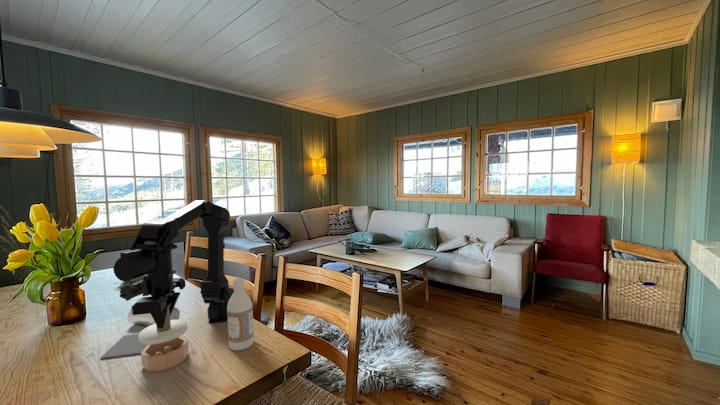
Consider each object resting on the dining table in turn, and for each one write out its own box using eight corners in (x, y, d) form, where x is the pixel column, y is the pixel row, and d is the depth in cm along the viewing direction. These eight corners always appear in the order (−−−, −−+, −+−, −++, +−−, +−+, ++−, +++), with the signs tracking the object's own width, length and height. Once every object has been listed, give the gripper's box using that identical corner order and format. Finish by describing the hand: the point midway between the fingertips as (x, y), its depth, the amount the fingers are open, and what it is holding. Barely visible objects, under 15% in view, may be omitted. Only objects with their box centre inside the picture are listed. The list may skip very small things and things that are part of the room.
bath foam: (223, 349, 86) (220, 282, 85) (239, 337, 93) (237, 274, 91) (243, 353, 84) (240, 284, 83) (258, 340, 91) (256, 276, 89)
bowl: (192, 347, 87) (191, 334, 87) (179, 368, 78) (179, 354, 77) (153, 352, 85) (152, 339, 85) (136, 374, 75) (135, 359, 75)
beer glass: (131, 330, 101) (168, 333, 98) (122, 315, 98) (160, 318, 95) (147, 314, 107) (183, 316, 104) (139, 299, 104) (175, 302, 101)
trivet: (166, 332, 96) (166, 330, 96) (149, 353, 85) (149, 351, 85) (124, 337, 94) (123, 335, 94) (100, 359, 82) (100, 357, 82)
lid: (192, 321, 87) (191, 301, 87) (179, 341, 76) (177, 318, 76) (150, 326, 85) (148, 305, 84) (130, 347, 74) (128, 323, 73)
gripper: (142, 261, 86) (145, 313, 88) (103, 283, 68) (108, 348, 69) (184, 258, 89) (187, 309, 90) (157, 279, 71) (162, 341, 72)
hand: (163, 325), depth 80 cm, fingers closed on lid, 3 cm apart
